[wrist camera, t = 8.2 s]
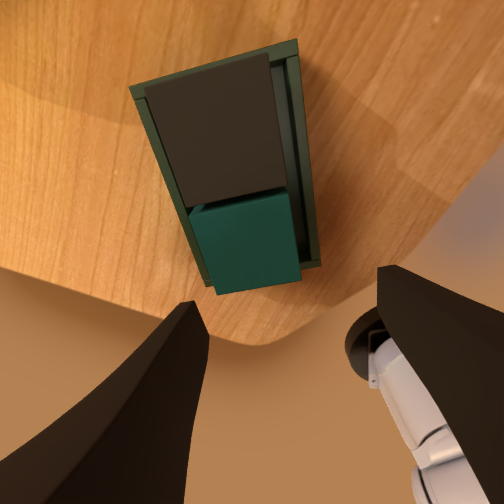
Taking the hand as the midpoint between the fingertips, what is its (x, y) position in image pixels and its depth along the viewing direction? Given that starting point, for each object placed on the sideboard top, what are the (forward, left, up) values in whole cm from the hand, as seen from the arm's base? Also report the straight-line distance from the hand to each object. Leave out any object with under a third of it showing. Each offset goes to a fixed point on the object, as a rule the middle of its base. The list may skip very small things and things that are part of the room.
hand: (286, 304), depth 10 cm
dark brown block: (+6, +1, -9) cm, 11 cm away
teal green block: (+1, +1, -8) cm, 8 cm away
